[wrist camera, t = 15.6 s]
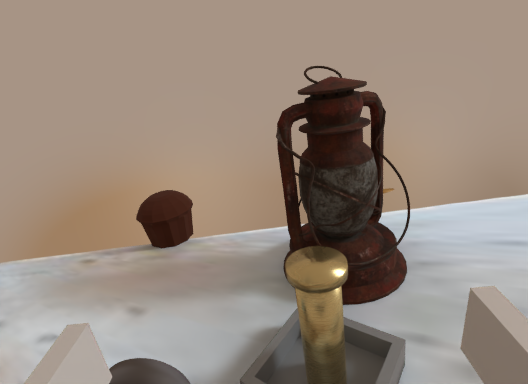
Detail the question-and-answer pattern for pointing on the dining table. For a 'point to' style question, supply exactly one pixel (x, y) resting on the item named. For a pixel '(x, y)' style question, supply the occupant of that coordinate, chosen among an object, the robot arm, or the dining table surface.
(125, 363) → the board
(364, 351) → the tray
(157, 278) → the dining table surface
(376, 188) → the lantern
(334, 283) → the lock pin
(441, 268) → the dining table surface
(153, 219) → the muffin
